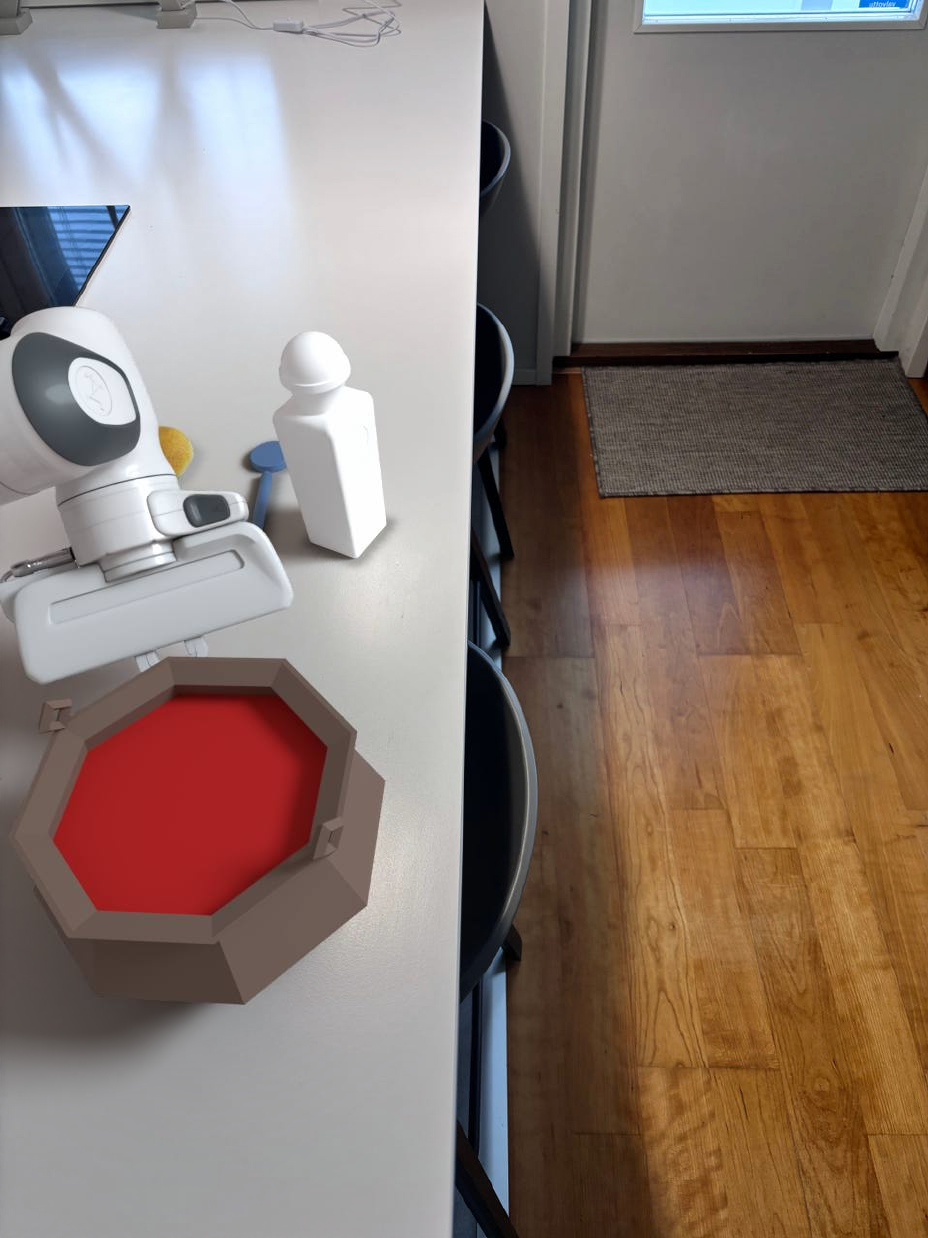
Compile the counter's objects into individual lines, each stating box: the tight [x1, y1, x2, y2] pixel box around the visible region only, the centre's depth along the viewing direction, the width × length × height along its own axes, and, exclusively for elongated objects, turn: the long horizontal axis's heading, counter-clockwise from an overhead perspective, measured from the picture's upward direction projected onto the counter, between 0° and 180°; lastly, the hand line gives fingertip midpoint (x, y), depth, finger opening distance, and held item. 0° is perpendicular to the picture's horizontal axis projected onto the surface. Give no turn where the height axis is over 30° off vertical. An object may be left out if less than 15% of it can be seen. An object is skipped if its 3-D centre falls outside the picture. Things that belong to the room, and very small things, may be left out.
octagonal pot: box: [7, 655, 386, 1006], centre depth 63 cm, size 24×24×16 cm
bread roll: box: [158, 425, 195, 480], centre depth 101 cm, size 8×9×4 cm
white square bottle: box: [272, 330, 387, 559], centre depth 85 cm, size 6×6×22 cm
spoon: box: [249, 440, 287, 532], centre depth 97 cm, size 19×4×1 cm, turn 1°
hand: (189, 702), depth 73 cm, fingers closed
